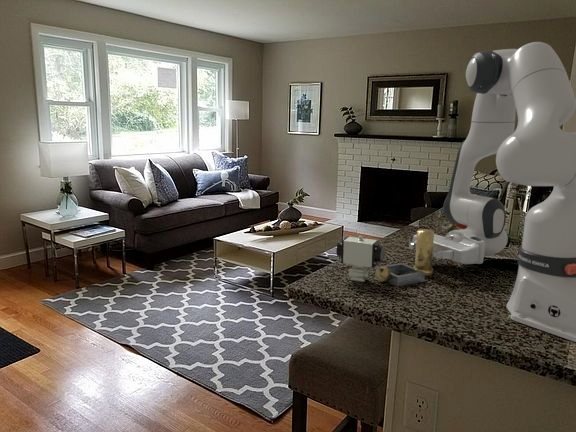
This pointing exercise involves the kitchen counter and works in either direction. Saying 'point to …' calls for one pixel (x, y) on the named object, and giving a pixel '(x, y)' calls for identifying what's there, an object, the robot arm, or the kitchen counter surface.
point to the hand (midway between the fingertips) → (422, 250)
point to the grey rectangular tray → (390, 275)
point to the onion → (451, 228)
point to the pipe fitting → (424, 251)
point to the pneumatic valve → (360, 256)
